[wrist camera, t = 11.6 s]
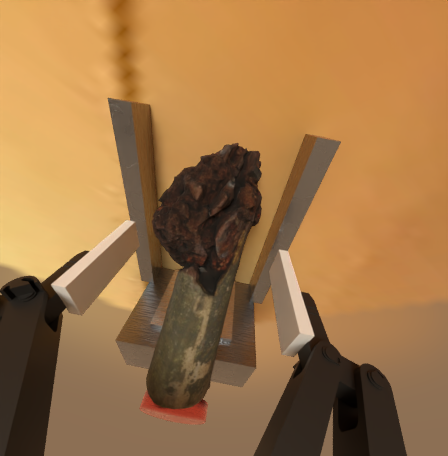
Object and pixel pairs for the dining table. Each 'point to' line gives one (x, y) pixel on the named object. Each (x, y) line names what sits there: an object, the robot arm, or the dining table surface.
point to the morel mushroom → (201, 268)
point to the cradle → (165, 278)
